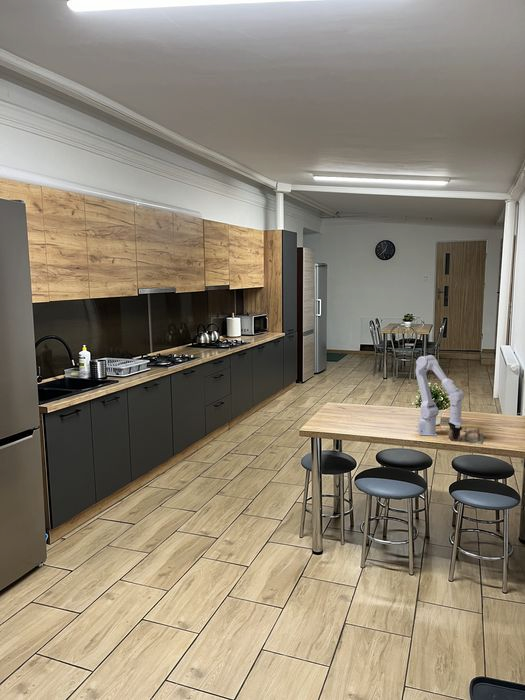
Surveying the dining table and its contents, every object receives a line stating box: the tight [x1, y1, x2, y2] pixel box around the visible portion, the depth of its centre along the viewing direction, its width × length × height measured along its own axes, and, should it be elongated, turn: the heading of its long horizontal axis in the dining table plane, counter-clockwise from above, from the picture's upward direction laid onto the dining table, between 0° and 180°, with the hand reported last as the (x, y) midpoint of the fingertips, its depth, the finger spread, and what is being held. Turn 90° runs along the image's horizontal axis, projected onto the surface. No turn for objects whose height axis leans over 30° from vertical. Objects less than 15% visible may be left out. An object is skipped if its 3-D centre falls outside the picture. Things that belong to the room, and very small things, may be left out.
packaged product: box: [461, 427, 484, 445], centre depth 297 cm, size 18×5×10 cm
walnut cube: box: [448, 429, 461, 442], centre depth 294 cm, size 5×5×5 cm
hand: (454, 437), depth 294 cm, fingers closed on walnut cube, 5 cm apart
